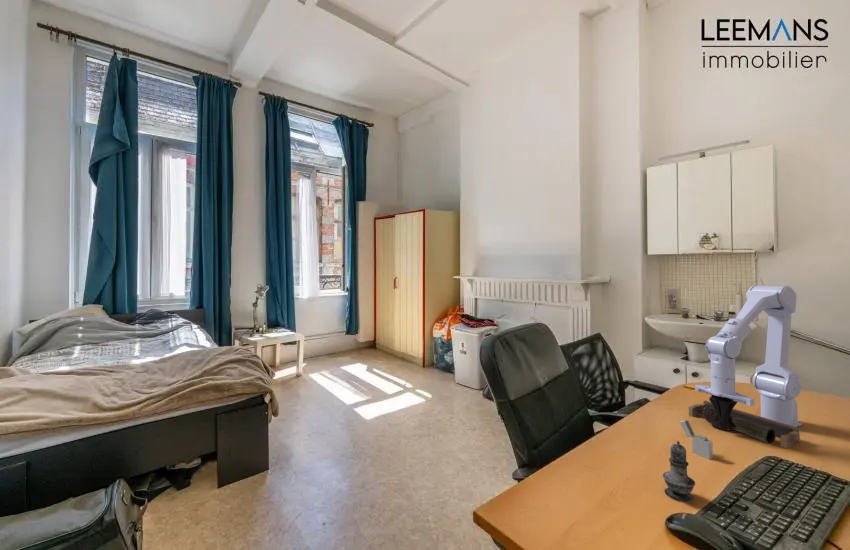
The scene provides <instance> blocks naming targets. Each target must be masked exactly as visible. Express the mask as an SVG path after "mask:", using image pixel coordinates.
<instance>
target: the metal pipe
mask: <svg viewBox="0 0 850 550" xmlns="http://www.w3.org/2000/svg"><path fill="white" fill-rule="evenodd" d="M701 417H702V418H703V419H704V420H705V421H707V422H708V423H710V425H711V426H712V427H713V428H715V429H717V430H719V431H733V430H734V431H737V432H739V433H742V434H744V435H747V436H749V437H752V438H754V439H757V440H760V441H761V442H765V443H768V444H771V443H774V442H775V439H776V437H777V436H776V435H775V430H773V429H771V428H768V427H765V426H762V425H759V424H756V423H753V422H750V421H747V420H744V419H741V418H738V417H733V416H731V415H730V416H729V419H728V422H726V423H722V422H719V419H718V416H717V413H716V410H715V408H713V407H712V408H709V407H704V408H703V411H702V414H701Z"/></svg>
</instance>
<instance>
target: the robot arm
mask: <svg viewBox="0 0 850 550" xmlns="http://www.w3.org/2000/svg"><path fill="white" fill-rule="evenodd" d="M745 297H746V298H745V299H746V301H745V303H744V305H743V306H742V308H741V309H740V311H739V312H738V314H737V316H736V317H735V318H729V319H728V320H727V321H726V323H725V324H724V325H723V326H722V328H720V330H719V332H718V333H717V334H716V335H714V336H711V337H709V338H708V339H707V340H706V343H705V345H704V348H705V352H706V353H707V355H708V357H707V358H708V359H709V360H710V386H709V385H704V384H695V385H694V387H695V388H694V391H695V392H698V393H700V392H701V393H705V394H707V395H710V396H709V398H708V401H709V402H711V403H712V405H713V406H714V408H715V410H716V413H717V416H718V419H719V422H722V423H726V422H728V419H729V416H730V413H731V411H732V409H735V406H736V405H737V404H738V403H740V404H743V405H746V406H748V407H753V406H755V398H753V397H750V396H747V395H744V394H742V393H739V392H737V391H736V358H737V357H738V356H739V355H740V354H741V350H742V349H741V348H742V346H743V343H742V342H743V341H744V340H745V339H746V337H747V336H748V335H749V333H750V332H751V330H752V329H751V326H750V324H751V323H752V322H753V321H754V320H755V319H756V318H757V317H758V316H759V315H760V314H761V313H762V312H763V311H764V313H766V314H767V315H768V317H767V318H768V320H767V333H766V334H767V335H766V346H765V347H766V348H765V359H764V360H765V362H764V363H763V364H761V365H758V366H757V367H756V368H755V372H754V375H753V377H752V385H753V387H754V389H756V390H757V393H758V394H760V417H764V418H767V419H771V420H774V421H778V422H781V423H784V424H788V425H791V426H795V427H800V426H802V425H803V424H802V423H801V422H799V421H798V418H799V417H798V415H799V414H798V413H799V411H798V407H799V406H798V402H797V401H796V398H797V397H799V396H800V394H801V390H802V388H801V387H802V386H801V383H800V375H799V374H798V373H797V372H795V371H794V370H793V369H791V368H790V367H789V354H790V343H791V342H790V341H791V339H790V338H791V327H792V315H793V314H794V313H795V312H796V306H797V293H796V292H795V290H794V288H792V286H790V285H789V286H788V285H784V286H782V285H781V286H780V285H779V286H778V285H756V284H755V285H751V286H750V287H749V288H748V290H747V291H746V292H745Z"/></svg>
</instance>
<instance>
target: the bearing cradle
mask: <svg viewBox="0 0 850 550" xmlns="http://www.w3.org/2000/svg"><path fill="white" fill-rule="evenodd" d="M704 407H709V408H712V407H713V408H714V406H713V405H712V403H711V402H710V400H703V403H696V404H694V405H689V406H688V416H689V415H690V417H692V418H693V417H696V415H697V416H700V415H699V414H701V415H702V411H703V408H704ZM730 415H731V416H733V417H738V418H741V419H744V420H747V421H750V422H753V423H756V424H759V425H762V426H765V427H768V428H771V429H773V430H775V435H776V437H778V438H780V447H781V448H783V449H789V448H791V447H792V448H793V446H796V445H799V444H800V443H801V442H800V441H801V439H800V434H801V433H800V428H799V426H797V427H795V426H791V425H788V424H784V423H781V422H778V421H774V420H771V419H767V418H764V417H761V415H756V414H753V413H750V412H747V411H743V410H739V409H737V408H733V409H732V411H731V413H730Z"/></svg>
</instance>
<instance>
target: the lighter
mask: <svg viewBox="0 0 850 550" xmlns="http://www.w3.org/2000/svg"><path fill="white" fill-rule="evenodd" d="M679 423H680V425H681V428H682V430H683V432H684V434H685V436H686V437H687V438H691V453H692V454H695V455H697V456H699V457H702V458H705V459H707V460H711V459H714V458H713V456H714V455H713V453H714V452H713V450H714V449H713V444H714V443H713V441H712V440H709V439H708V437H707V435H704V434H701V433H697V434H696V435H695V432H694V430H693V428H692V425H691V424H690V422H689V420H688V419H682V420H680V421H679Z"/></svg>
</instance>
